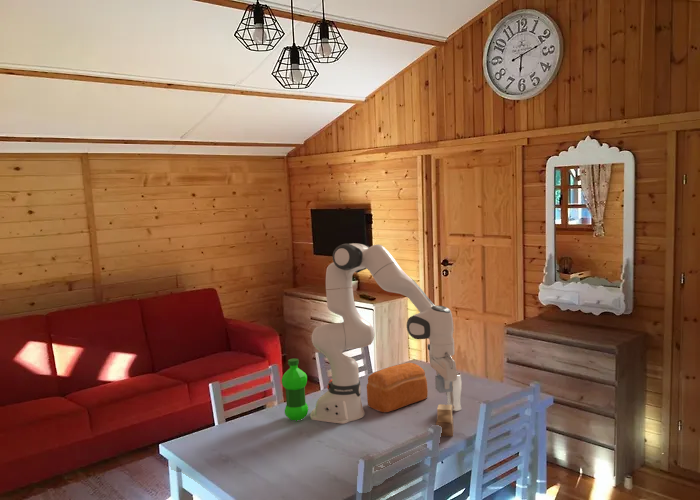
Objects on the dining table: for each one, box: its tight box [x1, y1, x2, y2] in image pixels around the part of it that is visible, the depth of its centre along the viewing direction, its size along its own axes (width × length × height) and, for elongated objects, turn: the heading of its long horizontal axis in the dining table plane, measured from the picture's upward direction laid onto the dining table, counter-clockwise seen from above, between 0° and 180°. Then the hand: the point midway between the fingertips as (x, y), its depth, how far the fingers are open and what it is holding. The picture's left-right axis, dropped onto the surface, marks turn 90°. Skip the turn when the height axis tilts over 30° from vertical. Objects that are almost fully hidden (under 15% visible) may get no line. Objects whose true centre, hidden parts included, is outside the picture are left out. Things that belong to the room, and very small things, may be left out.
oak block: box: [436, 403, 453, 423], centre depth 223 cm, size 5×5×5 cm
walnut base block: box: [435, 416, 455, 437], centre depth 224 cm, size 6×6×5 cm
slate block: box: [434, 375, 453, 394], centre depth 222 cm, size 5×5×5 cm
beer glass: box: [445, 371, 463, 412], centre depth 246 cm, size 7×7×15 cm
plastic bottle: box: [281, 358, 309, 422], centre depth 243 cm, size 10×10×25 cm
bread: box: [366, 362, 429, 413], centre depth 257 cm, size 14×26×16 cm, turn 127°
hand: (443, 385), depth 222 cm, fingers closed on slate block, 5 cm apart
